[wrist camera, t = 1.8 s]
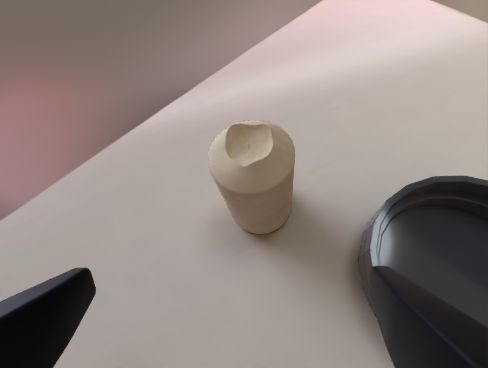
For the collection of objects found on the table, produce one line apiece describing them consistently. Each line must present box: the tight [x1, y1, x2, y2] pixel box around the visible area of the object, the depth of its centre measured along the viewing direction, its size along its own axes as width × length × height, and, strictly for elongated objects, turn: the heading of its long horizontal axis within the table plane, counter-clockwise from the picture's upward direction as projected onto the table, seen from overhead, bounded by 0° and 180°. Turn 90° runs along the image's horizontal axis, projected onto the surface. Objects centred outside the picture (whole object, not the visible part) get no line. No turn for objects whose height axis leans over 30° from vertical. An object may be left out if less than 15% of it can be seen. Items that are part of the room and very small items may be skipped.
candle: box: [208, 120, 295, 234], centre depth 20 cm, size 6×6×10 cm
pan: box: [358, 176, 488, 327], centre depth 18 cm, size 13×13×4 cm
